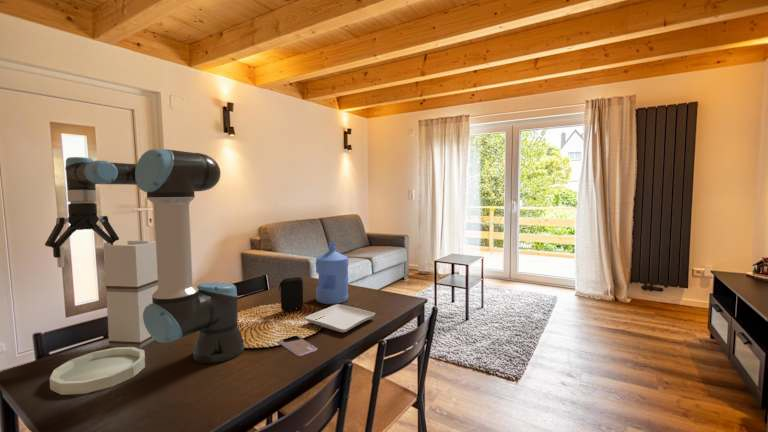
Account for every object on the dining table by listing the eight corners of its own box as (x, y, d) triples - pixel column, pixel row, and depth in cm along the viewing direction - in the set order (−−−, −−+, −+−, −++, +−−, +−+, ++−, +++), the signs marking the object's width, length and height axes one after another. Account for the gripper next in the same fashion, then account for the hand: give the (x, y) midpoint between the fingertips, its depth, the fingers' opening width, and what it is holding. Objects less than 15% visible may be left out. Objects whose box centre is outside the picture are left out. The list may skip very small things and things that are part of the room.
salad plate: (376, 320, 146) (376, 311, 146) (344, 338, 128) (344, 328, 128) (337, 310, 157) (337, 302, 157) (302, 325, 139) (302, 317, 139)
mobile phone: (296, 334, 129) (318, 347, 118) (296, 336, 129) (318, 350, 118) (276, 340, 124) (298, 354, 113) (276, 343, 124) (298, 357, 113)
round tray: (160, 364, 107) (160, 355, 107) (77, 402, 88) (76, 391, 88) (119, 351, 116) (119, 342, 116) (36, 382, 97) (35, 372, 97)
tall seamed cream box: (162, 335, 129) (158, 241, 126) (140, 348, 119) (135, 245, 116) (134, 333, 130) (129, 240, 127) (109, 346, 120) (103, 245, 117)
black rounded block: (279, 313, 152) (278, 280, 151) (278, 311, 155) (277, 278, 154) (303, 309, 157) (303, 277, 156) (302, 307, 160) (301, 276, 158)
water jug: (337, 293, 182) (336, 239, 180) (354, 300, 170) (354, 243, 168) (310, 299, 172) (309, 242, 170) (326, 307, 160) (326, 246, 158)
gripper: (116, 202, 134) (119, 258, 135) (28, 203, 111) (32, 269, 112) (128, 202, 131) (131, 258, 131) (39, 202, 108) (44, 270, 109)
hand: (85, 263), depth 122 cm, fingers open, 13 cm apart
